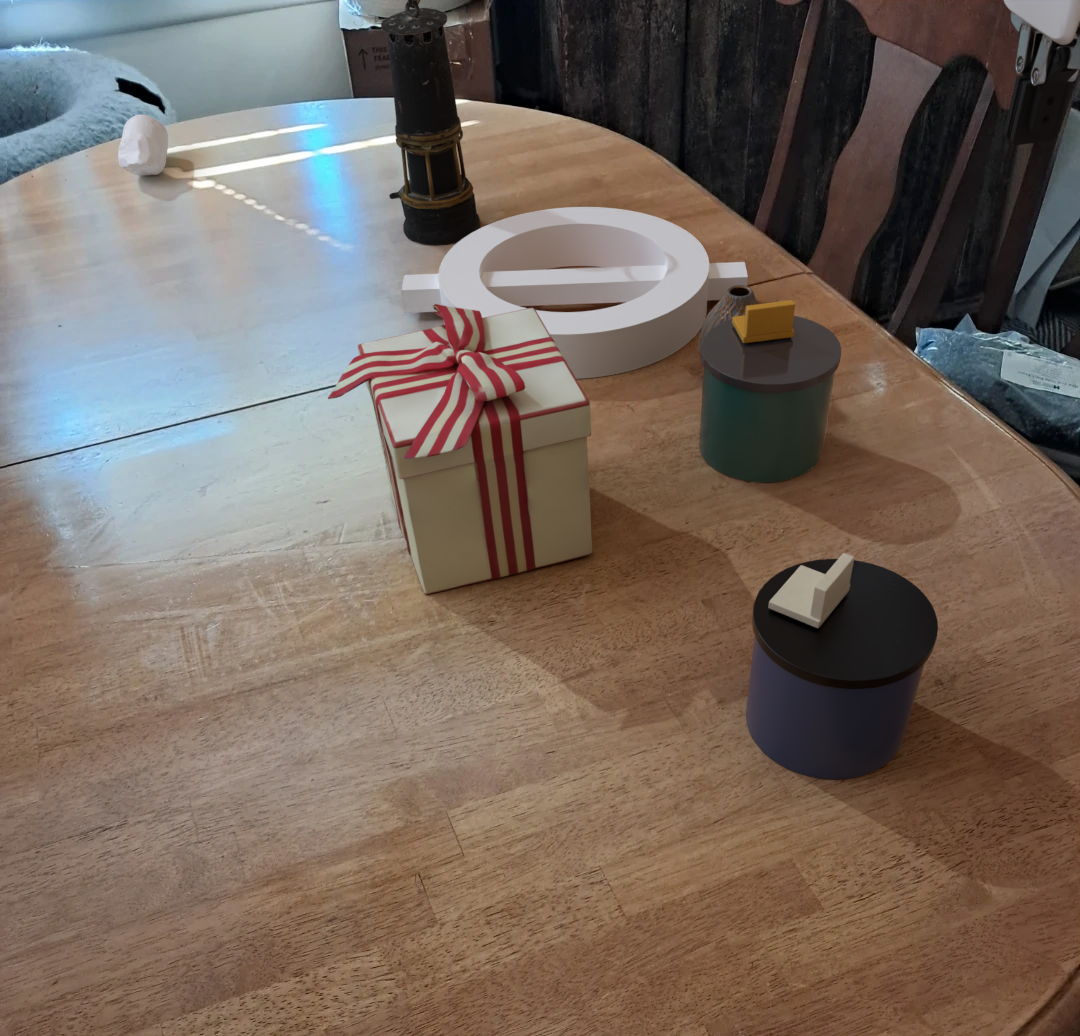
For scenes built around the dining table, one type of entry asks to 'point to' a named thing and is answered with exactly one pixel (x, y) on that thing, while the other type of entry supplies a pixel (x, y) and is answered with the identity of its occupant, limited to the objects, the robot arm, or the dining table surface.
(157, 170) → the white rock
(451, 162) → the lantern
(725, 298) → the vase
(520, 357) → the gift box
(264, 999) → the dining table surface
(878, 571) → the blue lidded jar
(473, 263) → the ring with crossbar
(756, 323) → the slider
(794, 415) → the green lidded canister
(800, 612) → the slider
